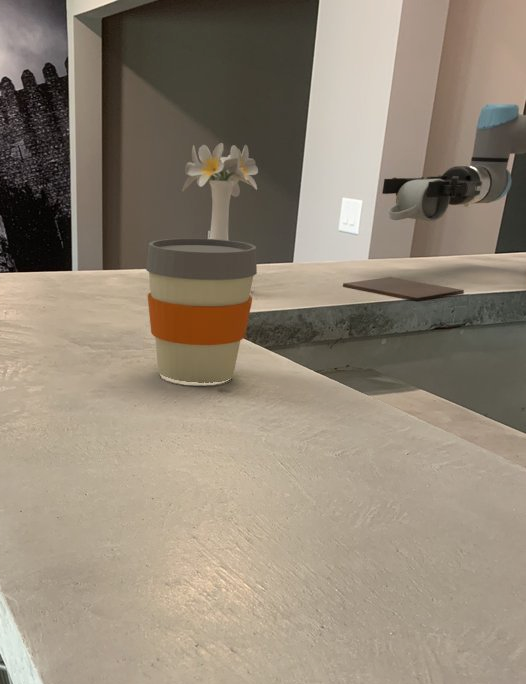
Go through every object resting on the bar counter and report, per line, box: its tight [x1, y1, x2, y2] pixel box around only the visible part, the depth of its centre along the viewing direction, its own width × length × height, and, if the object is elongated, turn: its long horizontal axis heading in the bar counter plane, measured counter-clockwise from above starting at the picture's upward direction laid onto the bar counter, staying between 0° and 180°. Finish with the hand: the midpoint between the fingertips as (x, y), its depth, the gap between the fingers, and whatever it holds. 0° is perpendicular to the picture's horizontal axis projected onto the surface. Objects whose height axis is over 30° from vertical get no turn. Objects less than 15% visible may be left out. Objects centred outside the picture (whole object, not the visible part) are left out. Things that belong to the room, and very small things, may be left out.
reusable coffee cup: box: [145, 237, 258, 387], centre depth 89 cm, size 12×13×15 cm
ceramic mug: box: [388, 179, 450, 222], centre depth 151 cm, size 11×8×8 cm
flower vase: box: [181, 142, 259, 240], centre depth 137 cm, size 13×18×25 cm
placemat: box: [342, 276, 465, 302], centre depth 148 cm, size 17×15×1 cm
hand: (406, 187), depth 147 cm, fingers closed on ceramic mug, 9 cm apart
